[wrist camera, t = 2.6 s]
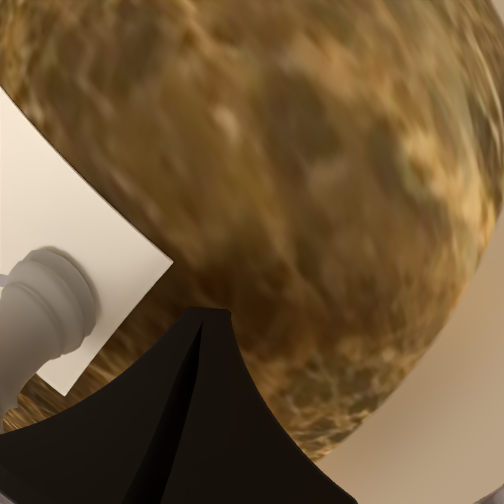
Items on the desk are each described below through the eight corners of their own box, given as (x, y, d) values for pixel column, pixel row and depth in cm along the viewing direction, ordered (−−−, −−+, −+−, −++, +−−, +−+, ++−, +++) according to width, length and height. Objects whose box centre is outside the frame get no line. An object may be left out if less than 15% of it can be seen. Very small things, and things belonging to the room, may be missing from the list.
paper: (65, 395, 13) (64, 396, 13) (-45, 277, 9) (-46, 278, 9) (173, 261, 9) (172, 263, 9) (0, 85, 6) (-2, 85, 6)
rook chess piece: (111, 277, 9) (-12, 457, 2) (93, 348, 11) (25, 486, 3) (29, 225, 8) (-109, 331, 1) (25, 302, 10) (-62, 408, 2)
